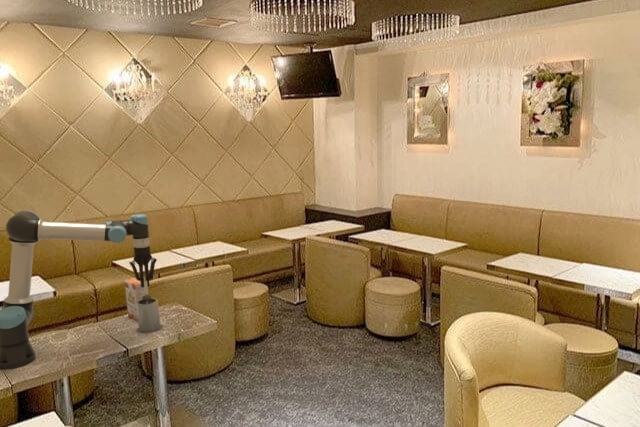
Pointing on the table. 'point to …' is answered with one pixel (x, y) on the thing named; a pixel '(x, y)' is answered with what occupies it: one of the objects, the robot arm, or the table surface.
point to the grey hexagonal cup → (148, 315)
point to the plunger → (146, 298)
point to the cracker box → (133, 296)
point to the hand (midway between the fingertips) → (145, 293)
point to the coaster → (149, 332)
